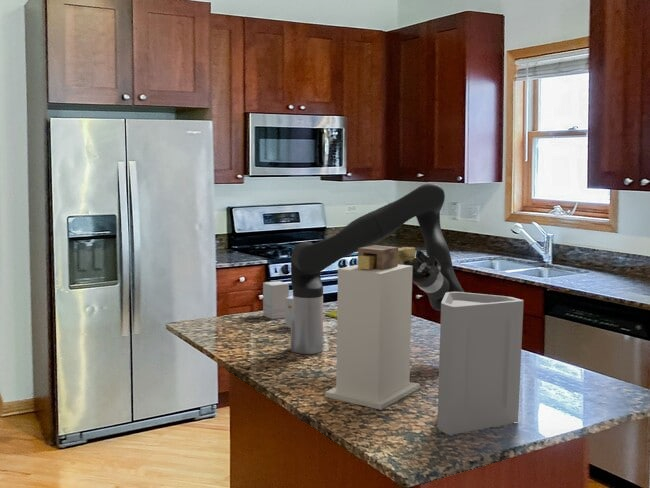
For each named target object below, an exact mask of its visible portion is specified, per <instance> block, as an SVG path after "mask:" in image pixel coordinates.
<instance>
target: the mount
mask: <svg viewBox="0 0 650 488" xmlns="http://www.w3.org/2000/svg"><path fill="white" fill-rule="evenodd" d="M398 248H399V246H387V245H377V244H372V245H370V246H367V247H362V248H358V251H357V257H358V256H361V255H366V254H371V253H372V254H377V265H376V268H373V269H369V270H368V269H359V268H358V264H354V265H349V266H343V267H340V268H337V300H336V301H337V308H336V309H337V310H336V311H337V320H336V376H335V377H336V379H335V382H336V383H335V384H336V385H335V387H332V388H330V389H328V390H326V391H325V392H324V397H325V398H329V399H334V400H338V401H342V402H346V403H350V404H355V405H359V406H363V407H368V408H372V409H376V410H380V411H382V410H383V409H385V408H387V407H388V406H391V405H392V404H394V403H396V402H398V401H400V400H401V399H403V398H405V397H407V396H409V395H410V394H412V393H414V392H416V391H417V390H419V389H420V388H421V383H418V382H413V381H410V378H411V377H410V376H411V375H410V373H411V344H412V343H411V340H412V339H411V337H412V336H411V335H412V334H411V333H412V306H413V305H412V304H413V303H412V301H413V300H412V298H413V294H412V293H413V281H412V268H413V266H409V265H400V264H398Z"/></svg>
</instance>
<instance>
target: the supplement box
mask: <svg viewBox="0 0 650 488" xmlns="http://www.w3.org/2000/svg"><path fill="white" fill-rule="evenodd" d="M289 286H290V284H289V283H287V282H284V281H280V280H278V281H277V280H276V281H265V282H262V297H263V298H262V315H263V316H264V317H266V318H269V319H271V320H275V319H276V320H277V319H285V298H287V297H289V296H290V287H289Z"/></svg>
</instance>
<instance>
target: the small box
mask: <svg viewBox="0 0 650 488" xmlns="http://www.w3.org/2000/svg"><path fill="white" fill-rule="evenodd" d="M284 319H285V320H284V322H285V328H287V327H288V328H290V329H291V321H292V320H293V294H292V295H289V297H287V298H285V318H284ZM288 328H287V329H288Z"/></svg>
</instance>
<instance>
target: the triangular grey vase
mask: <svg viewBox="0 0 650 488" xmlns="http://www.w3.org/2000/svg"><path fill="white" fill-rule="evenodd" d="M524 302H525V301H524V299H520V298H516V297H513V296H505V295H495V294H487V293H485V294H484V293H474V292H473V293H472V292H465V291H464V292H446V293H445V295H444V298H443V300H442V302H441V311H440V329H439V331H440V332H439V333H440V335H439V359H438V360H439V362H438V369H439V370H438V388H437V389H438V393H437V394H438V395H437V421H436V423H437V429H438V430H439V431H441V432H443V433H444V434H446V435H456V434H462V433H463V434H464V433H469V432H474V431H479V430H480V431H482V430H486V429H485V428H487V429H490V428H489V427H493V428H496V427H495V426H498V427H502V426H501V425H504V426H507V425H506V424H510V425H512V424H511V423H514V422H518V423H519V413H520V409H519V407H520V390H521V389H520V385H521V369H522V368H521V367H522V345H523V344H522V343H523V320H524Z"/></svg>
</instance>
